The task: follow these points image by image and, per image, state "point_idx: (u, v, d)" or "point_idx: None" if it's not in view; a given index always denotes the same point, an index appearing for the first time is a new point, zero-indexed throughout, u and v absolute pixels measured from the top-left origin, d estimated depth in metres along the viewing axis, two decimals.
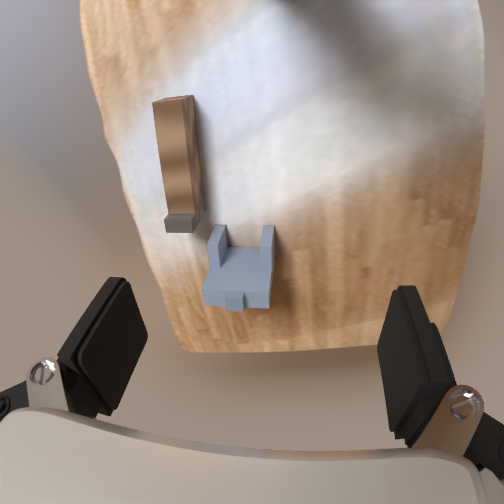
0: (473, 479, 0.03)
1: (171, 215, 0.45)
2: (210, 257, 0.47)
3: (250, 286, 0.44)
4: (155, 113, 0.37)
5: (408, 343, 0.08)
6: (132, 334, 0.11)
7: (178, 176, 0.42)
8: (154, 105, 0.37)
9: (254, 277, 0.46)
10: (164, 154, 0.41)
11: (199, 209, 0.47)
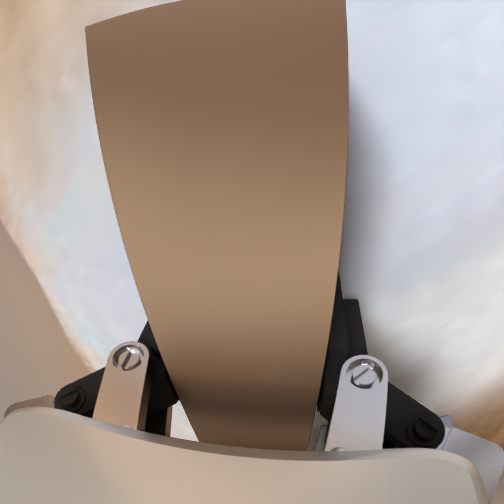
0: (473, 479, 0.03)
1: None
2: None
3: None
4: (107, 105, 0.04)
5: None
6: None
7: (261, 422, 0.09)
8: (99, 43, 0.04)
9: None
10: (187, 352, 0.07)
11: None
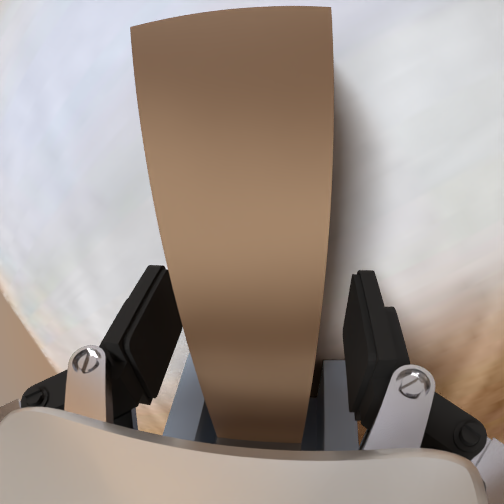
0: (473, 479, 0.03)
1: None
2: None
3: None
4: (147, 89, 0.06)
5: (361, 323, 0.09)
6: (170, 322, 0.11)
7: (265, 378, 0.10)
8: (142, 41, 0.05)
9: None
10: (201, 304, 0.09)
11: None
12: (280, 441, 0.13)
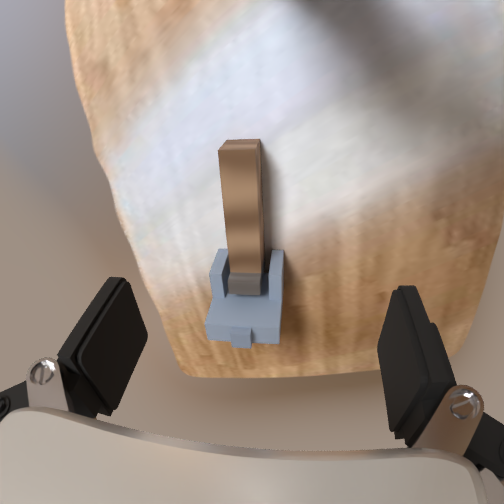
0: (473, 479, 0.03)
1: (234, 275, 0.42)
2: (213, 287, 0.43)
3: (258, 320, 0.40)
4: (221, 163, 0.34)
5: (408, 343, 0.08)
6: (132, 334, 0.11)
7: (246, 235, 0.39)
8: (220, 153, 0.34)
9: (262, 309, 0.41)
10: (230, 210, 0.37)
11: None
12: (253, 272, 0.42)
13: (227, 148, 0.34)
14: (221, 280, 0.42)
